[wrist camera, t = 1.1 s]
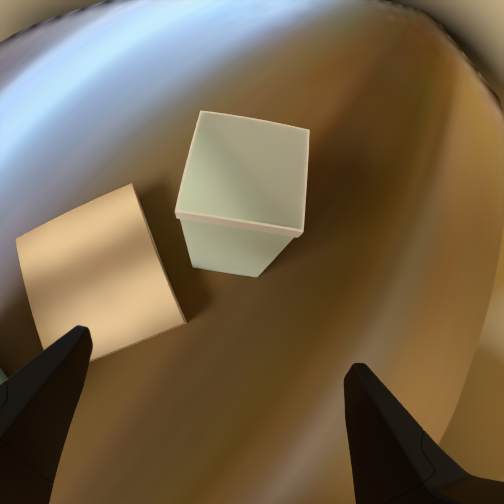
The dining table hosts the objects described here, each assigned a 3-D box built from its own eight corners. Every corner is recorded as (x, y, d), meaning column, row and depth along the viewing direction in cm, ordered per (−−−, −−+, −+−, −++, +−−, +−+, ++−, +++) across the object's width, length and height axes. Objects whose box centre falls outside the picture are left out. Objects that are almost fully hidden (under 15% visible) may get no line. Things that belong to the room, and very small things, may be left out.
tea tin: (258, 278, 24) (303, 232, 13) (191, 268, 24) (174, 211, 12) (266, 215, 25) (309, 130, 14) (202, 205, 25) (200, 110, 13)
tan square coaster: (187, 323, 23) (184, 322, 20) (69, 369, 21) (52, 374, 18) (139, 198, 25) (131, 183, 22) (32, 248, 22) (15, 239, 20)
